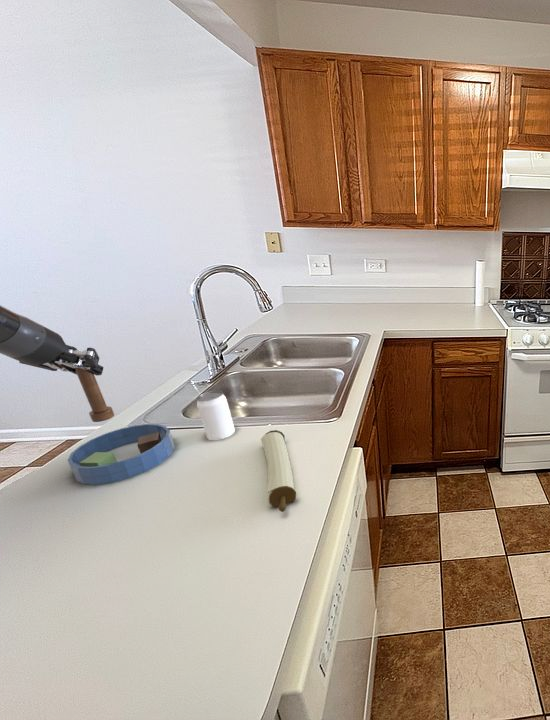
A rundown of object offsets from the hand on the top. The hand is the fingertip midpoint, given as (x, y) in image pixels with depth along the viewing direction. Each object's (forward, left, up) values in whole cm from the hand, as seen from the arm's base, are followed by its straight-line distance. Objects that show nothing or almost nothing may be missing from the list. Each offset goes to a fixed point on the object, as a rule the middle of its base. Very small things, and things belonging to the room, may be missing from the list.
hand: (92, 372), depth 91 cm
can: (+21, +2, -22) cm, 31 cm away
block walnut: (+8, -3, -21) cm, 23 cm away
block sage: (0, -9, -21) cm, 23 cm away
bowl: (+3, -5, -22) cm, 23 cm away
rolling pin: (+39, -20, -22) cm, 49 cm away
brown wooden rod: (0, -2, -11) cm, 11 cm away
